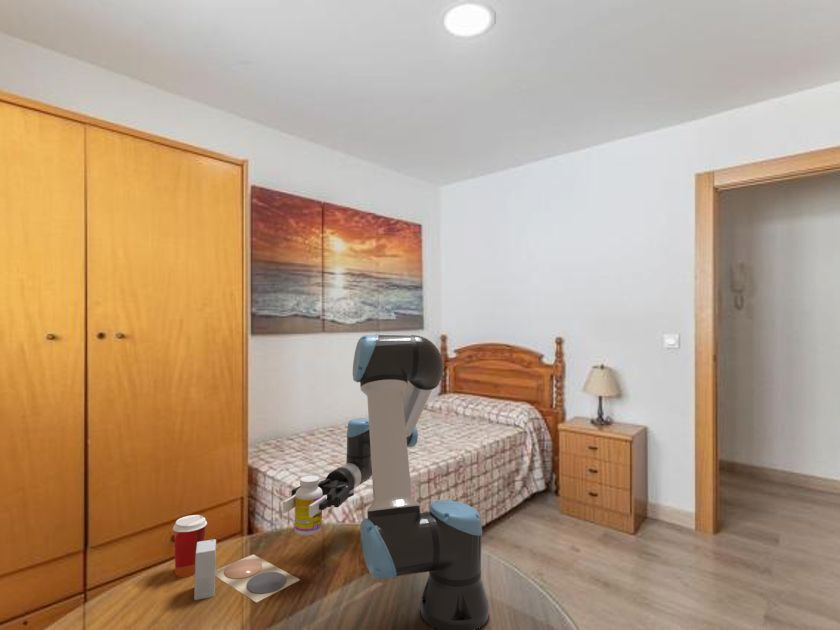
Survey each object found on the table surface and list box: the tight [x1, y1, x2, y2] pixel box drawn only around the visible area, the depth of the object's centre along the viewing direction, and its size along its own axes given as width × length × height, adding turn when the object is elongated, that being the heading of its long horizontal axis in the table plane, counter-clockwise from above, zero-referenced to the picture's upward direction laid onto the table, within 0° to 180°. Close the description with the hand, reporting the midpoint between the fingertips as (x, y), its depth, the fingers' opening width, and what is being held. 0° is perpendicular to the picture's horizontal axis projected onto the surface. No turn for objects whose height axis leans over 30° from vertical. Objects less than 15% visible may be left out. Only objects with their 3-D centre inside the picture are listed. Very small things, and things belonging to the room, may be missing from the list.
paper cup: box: [172, 514, 208, 578], centre depth 114 cm, size 8×8×14 cm
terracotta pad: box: [224, 559, 262, 579], centre depth 115 cm, size 9×9×1 cm
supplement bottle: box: [294, 475, 324, 536], centre depth 114 cm, size 7×7×13 cm
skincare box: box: [193, 539, 217, 601], centre depth 105 cm, size 6×4×12 cm
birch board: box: [215, 553, 301, 604], centre depth 111 cm, size 20×12×2 cm, turn 53°
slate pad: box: [247, 572, 286, 594], centre depth 108 cm, size 9×9×1 cm
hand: (297, 509), depth 109 cm, fingers closed on supplement bottle, 7 cm apart
